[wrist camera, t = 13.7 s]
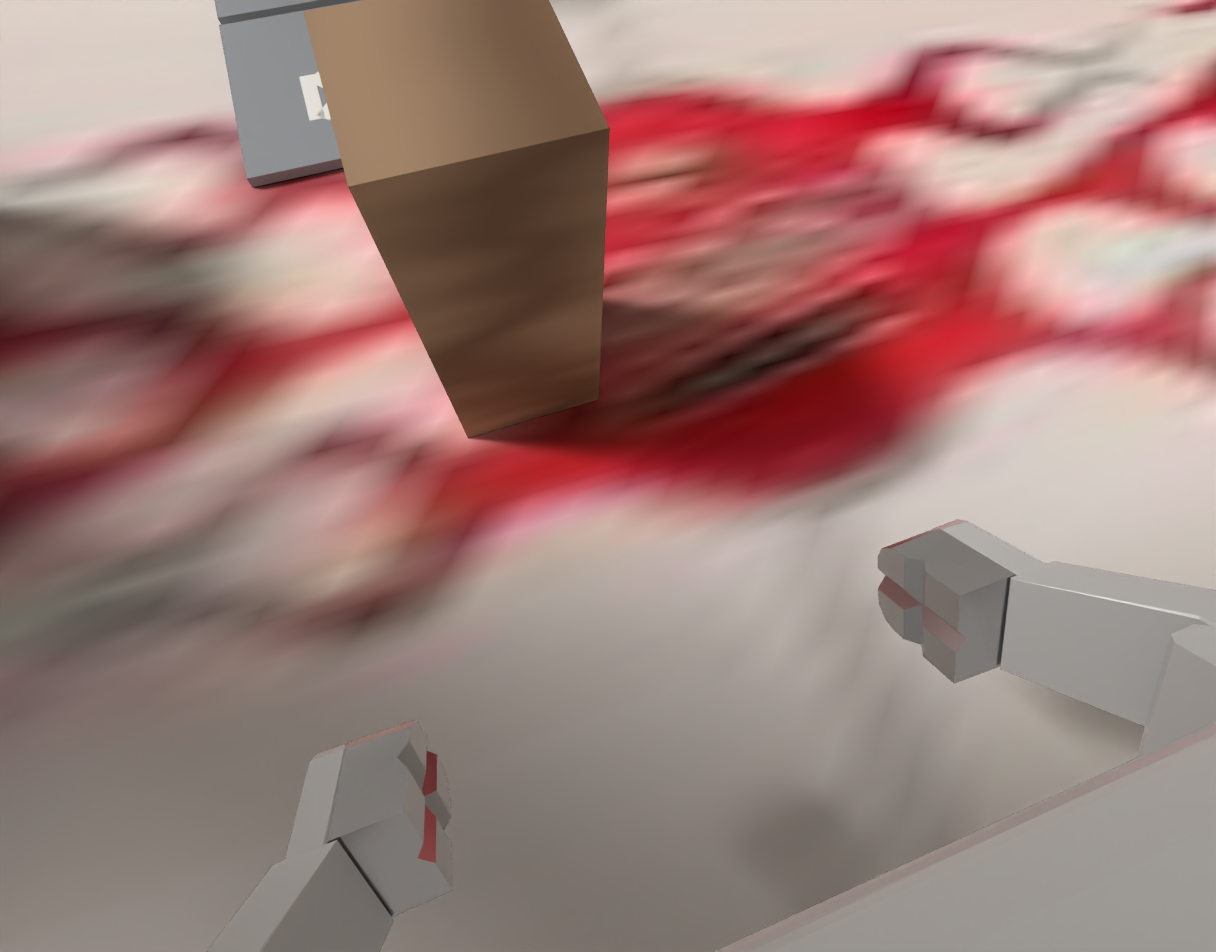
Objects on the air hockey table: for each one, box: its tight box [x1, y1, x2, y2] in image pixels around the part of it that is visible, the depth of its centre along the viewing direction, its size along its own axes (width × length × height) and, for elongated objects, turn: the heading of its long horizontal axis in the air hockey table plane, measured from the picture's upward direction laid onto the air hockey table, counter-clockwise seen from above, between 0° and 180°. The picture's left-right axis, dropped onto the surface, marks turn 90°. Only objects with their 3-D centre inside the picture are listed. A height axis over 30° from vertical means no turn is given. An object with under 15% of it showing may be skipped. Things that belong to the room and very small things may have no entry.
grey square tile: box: [219, 0, 363, 187], centre depth 24 cm, size 9×9×1 cm
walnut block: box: [303, 0, 610, 438], centre depth 15 cm, size 4×4×10 cm
